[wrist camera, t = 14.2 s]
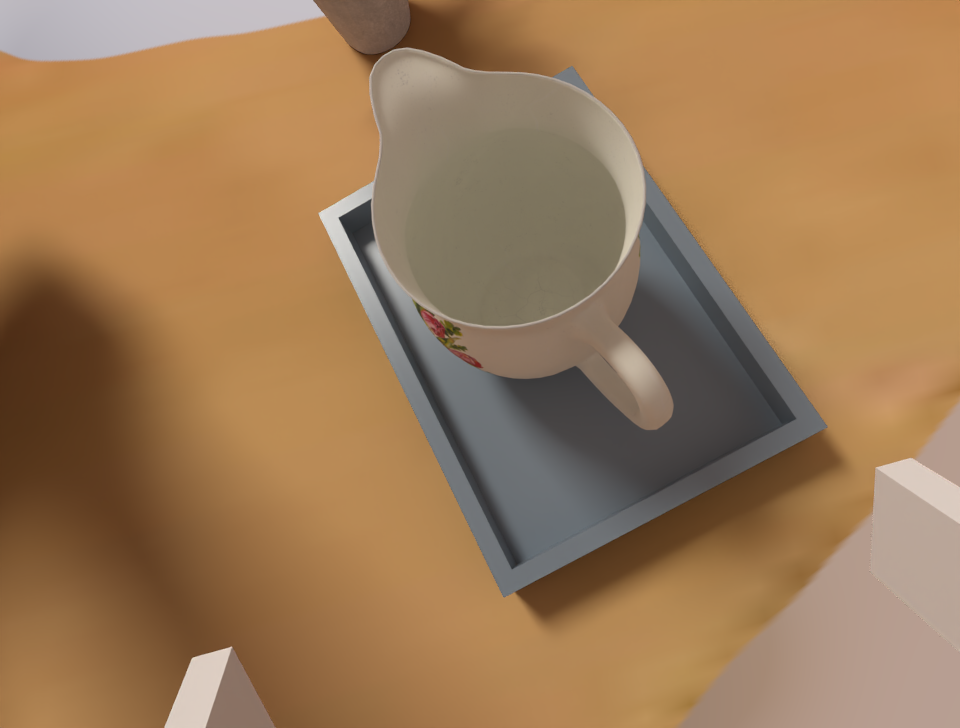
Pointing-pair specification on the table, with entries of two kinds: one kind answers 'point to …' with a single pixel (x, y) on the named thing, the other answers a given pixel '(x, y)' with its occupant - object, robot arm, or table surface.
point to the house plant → (368, 22)
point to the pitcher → (514, 222)
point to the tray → (586, 403)
